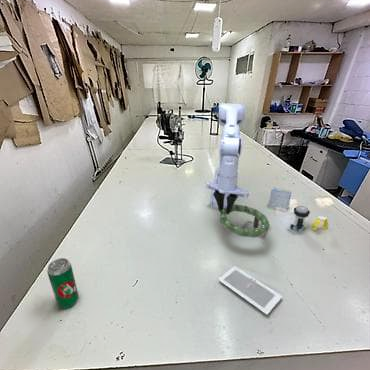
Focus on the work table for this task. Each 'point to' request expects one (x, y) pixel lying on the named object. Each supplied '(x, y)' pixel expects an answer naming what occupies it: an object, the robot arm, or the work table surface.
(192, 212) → the work table surface
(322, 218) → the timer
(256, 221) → the peg
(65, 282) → the soda can
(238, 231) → the ring
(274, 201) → the medicine box
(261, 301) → the touchpad
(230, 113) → the robot arm
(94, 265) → the work table surface
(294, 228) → the push button
